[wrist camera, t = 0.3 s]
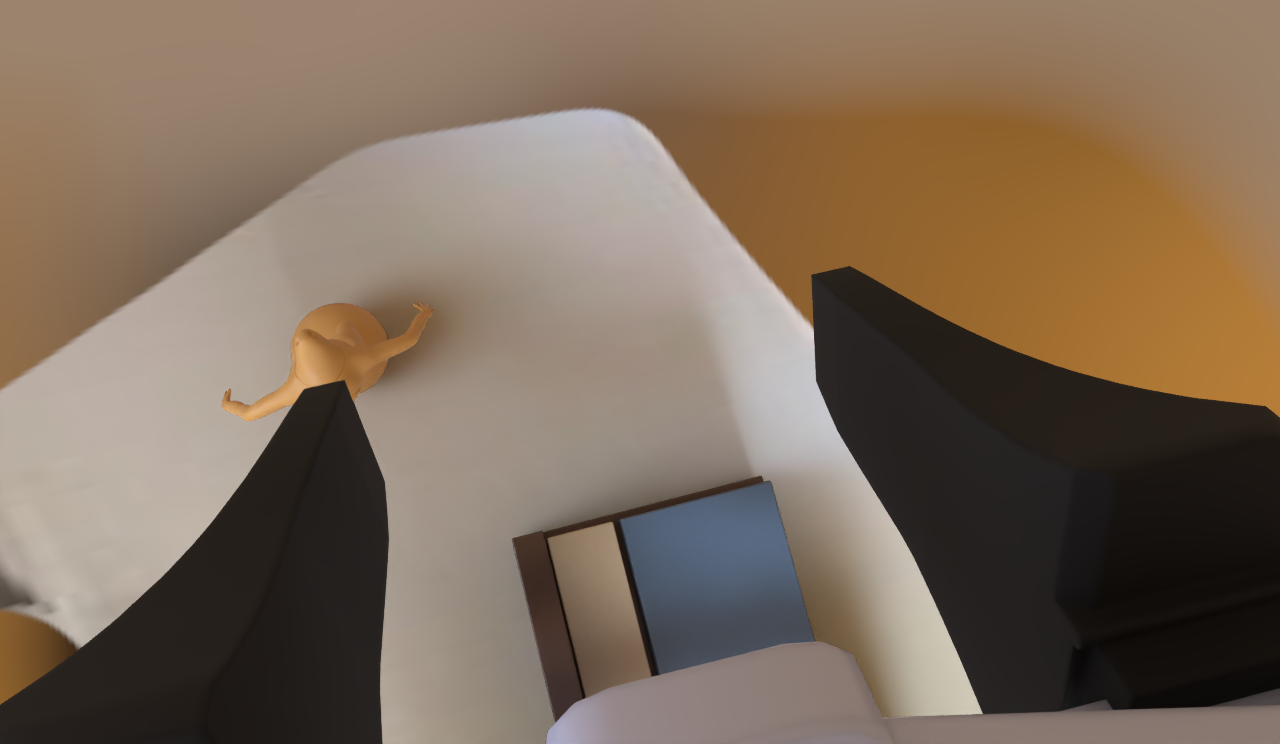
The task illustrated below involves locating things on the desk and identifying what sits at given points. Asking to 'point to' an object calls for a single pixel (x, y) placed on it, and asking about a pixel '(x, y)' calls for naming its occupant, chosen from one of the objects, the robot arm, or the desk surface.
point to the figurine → (334, 355)
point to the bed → (660, 589)
